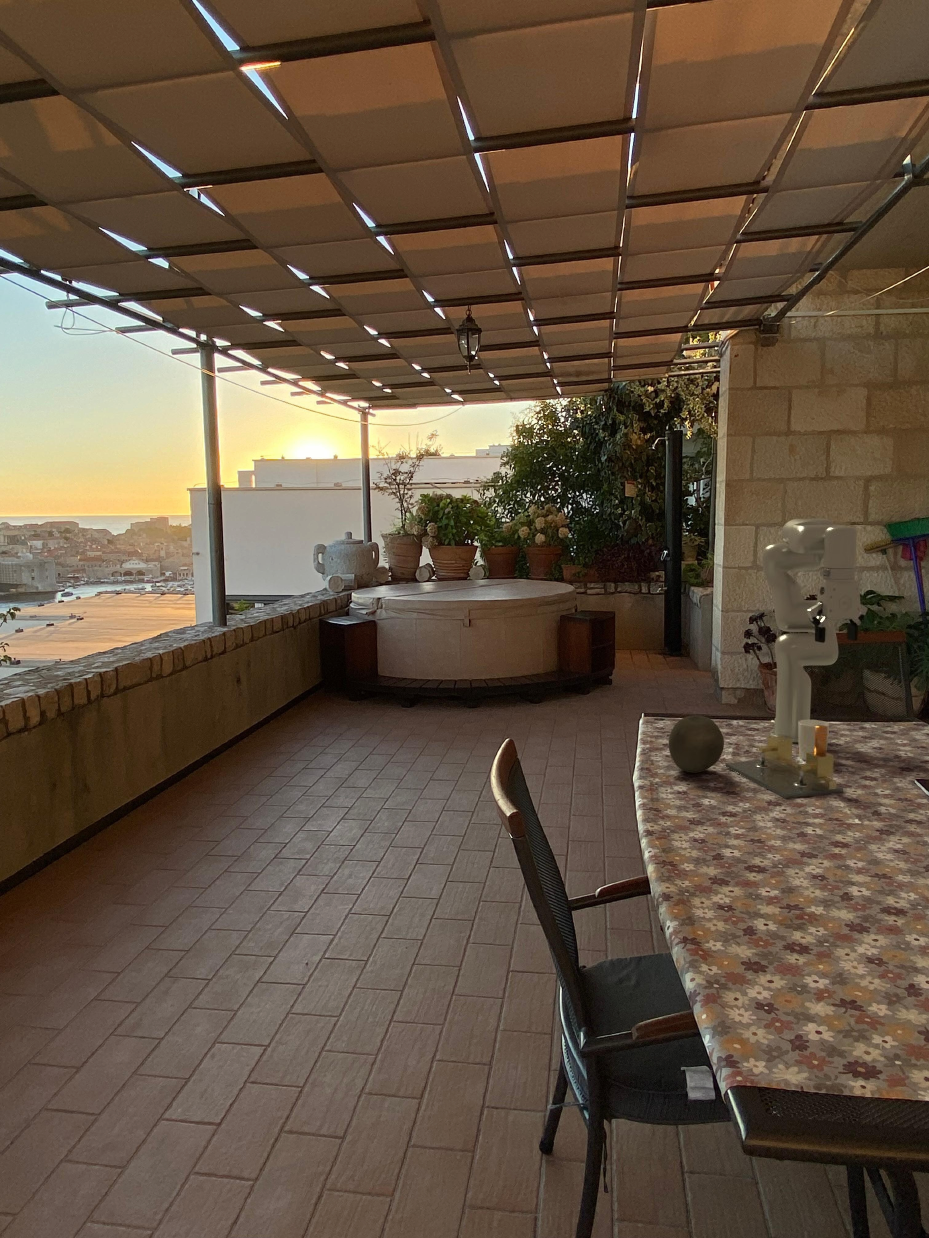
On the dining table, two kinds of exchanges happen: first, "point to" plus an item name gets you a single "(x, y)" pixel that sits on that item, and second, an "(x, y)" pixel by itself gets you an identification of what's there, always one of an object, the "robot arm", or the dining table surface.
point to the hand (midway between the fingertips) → (836, 641)
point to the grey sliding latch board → (783, 772)
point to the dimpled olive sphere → (695, 743)
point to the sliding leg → (818, 756)
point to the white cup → (808, 736)
